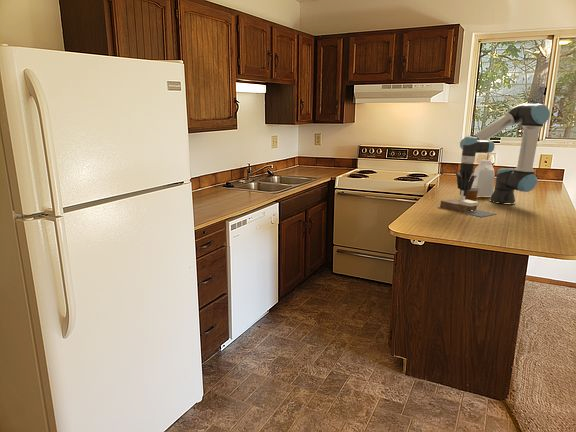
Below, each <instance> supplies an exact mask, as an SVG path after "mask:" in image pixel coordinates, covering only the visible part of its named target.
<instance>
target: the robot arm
mask: <svg viewBox="0 0 576 432" xmlns="http://www.w3.org/2000/svg"><path fill="white" fill-rule="evenodd" d="M549 118H550V109H549V108H548V106H547V105H545V104H543V103H521V104H518V105H515V106H514V107H512V108H510V109H508V110H506V111H505V112H503V113H502V116H501V117H499V118H497V119H496V120H494V121H493V122H491V123H490V124H489V125H486V126H485V127H484V128H482V129H480V130H479V131H477V132H476V133H474V134H473V135H471V136H465V137H464V138H462V139H461V141H460V143H459V147H460V149H461V150H462V151H461V159H460V166H459V169H460V170H459V171H458V172H456V173H455V176H456V183H457V189H459V195H460V197H459V198H460V199H459V200H465V196H466V195H467V191H468V190H471V187H472V184H473V182H474V179H475V178H476V175H474V171H473V170H475V169H474V167H475V164H474V163H475V161H476V154H490V153H492V152H493V151H495V143H494V141H493V140H490V139H492V138H493V137H494V136H496V135H497V134H499V133H500V132H502V131H504V130H505V129H506V128H508V127H511V126H514V125H517V124H520V123H521V127H522V128H523V132H522V138H521V143H520V149H519V156H518V160H517V166H516V167H515V168H499V169H498V170H497V173H496V177H495V178H496V179H495V183H494V186H495V187H494V189H493V194H492V196H491V198H489V201H490V200H491V201H494V202H499V203H514V202H515V203H516V197H515V190H516V191H517V192H518V191H519V192H522V193H523V192H524V193H528V192H531V191H533V189H535V188H536V186H537V184H538V177H537V176H536V175H535V172H536V171H535V169H534V168H533V167H534V162H535V156H536V150H537V145H538V139H539V135H540V130H541V129H542V128H543V127H544V124H546V123H547V122H548V120H549ZM491 201H490V202H491Z"/></svg>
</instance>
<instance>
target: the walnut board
mask: <svg viewBox="0 0 576 432" xmlns="http://www.w3.org/2000/svg"><path fill="white" fill-rule="evenodd" d="M459 201H460V199H459V198H450V199H444V200H440V204H439V205H440V206H439V207H440V208H442V209H448V210H451V211H455V212H459V213H463V212H467V211H471V210H477V208H478V205H477V206H471V207H470V206H466V205H462V204H459Z"/></svg>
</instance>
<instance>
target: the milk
mask: <svg viewBox="0 0 576 432" xmlns="http://www.w3.org/2000/svg"><path fill="white" fill-rule="evenodd" d="M473 174H474V175H476V178H475V179H474V182H473V184H472V186H477V187H479V191H478V193H477V196H492V194H493V192H494V188H495V187H494V186H495V174H496V173H495V168H494V166H493V163H492V161H491V160H490V159H481V160H480V162H479V163H478V165H477V166H476V167H475V169H474V171H473Z"/></svg>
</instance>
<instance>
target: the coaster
mask: <svg viewBox="0 0 576 432" xmlns="http://www.w3.org/2000/svg"><path fill="white" fill-rule="evenodd" d="M459 200H460V199H459ZM479 203H480V201H476V200H475V201H472V200H460V201H459V204H462V205H466V206H470V207H471V206H477V207H478V206H479Z"/></svg>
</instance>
